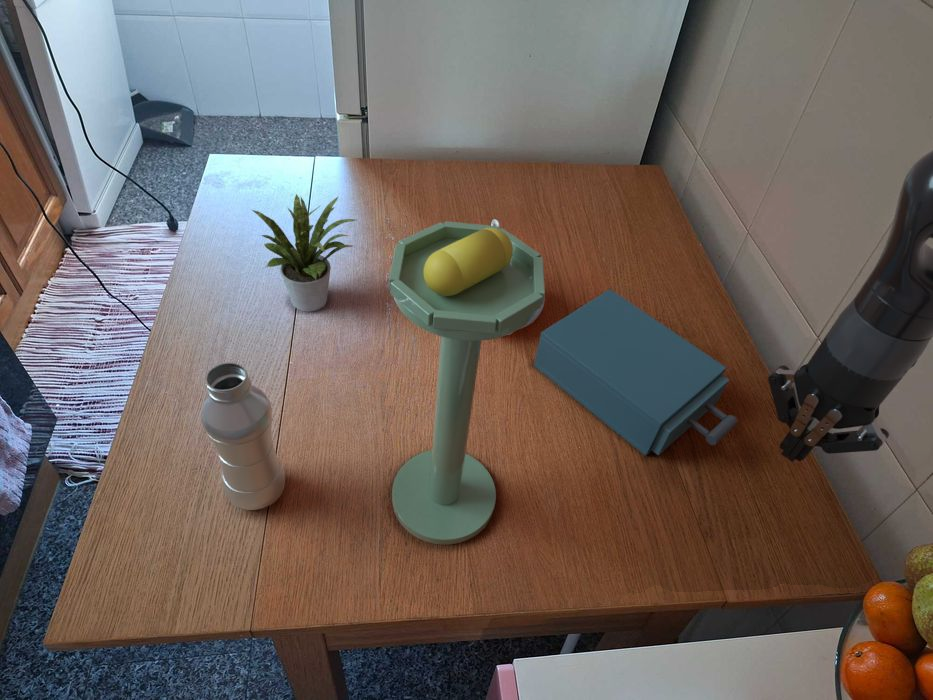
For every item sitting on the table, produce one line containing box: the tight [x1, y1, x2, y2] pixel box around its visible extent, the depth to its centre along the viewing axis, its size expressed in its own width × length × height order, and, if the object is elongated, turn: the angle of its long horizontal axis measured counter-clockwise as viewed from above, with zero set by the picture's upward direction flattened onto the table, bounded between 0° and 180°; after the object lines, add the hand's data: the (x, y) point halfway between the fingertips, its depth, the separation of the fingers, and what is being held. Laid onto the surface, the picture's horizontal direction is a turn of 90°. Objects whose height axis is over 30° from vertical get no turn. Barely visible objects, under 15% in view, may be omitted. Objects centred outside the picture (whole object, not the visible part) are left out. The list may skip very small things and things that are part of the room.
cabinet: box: [533, 288, 727, 457], centre depth 88 cm, size 20×15×7 cm
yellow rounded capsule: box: [424, 228, 513, 296], centre depth 50 cm, size 8×4×4 cm, turn 132°
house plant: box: [251, 193, 357, 313], centre depth 91 cm, size 14×14×16 cm
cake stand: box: [388, 220, 546, 546], centre depth 63 cm, size 12×12×34 cm
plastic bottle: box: [200, 362, 286, 511], centre depth 67 cm, size 6×7×20 cm
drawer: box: [651, 374, 738, 456], centre depth 86 cm, size 23×14×5 cm, turn 42°
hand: (790, 454), depth 74 cm, fingers closed
